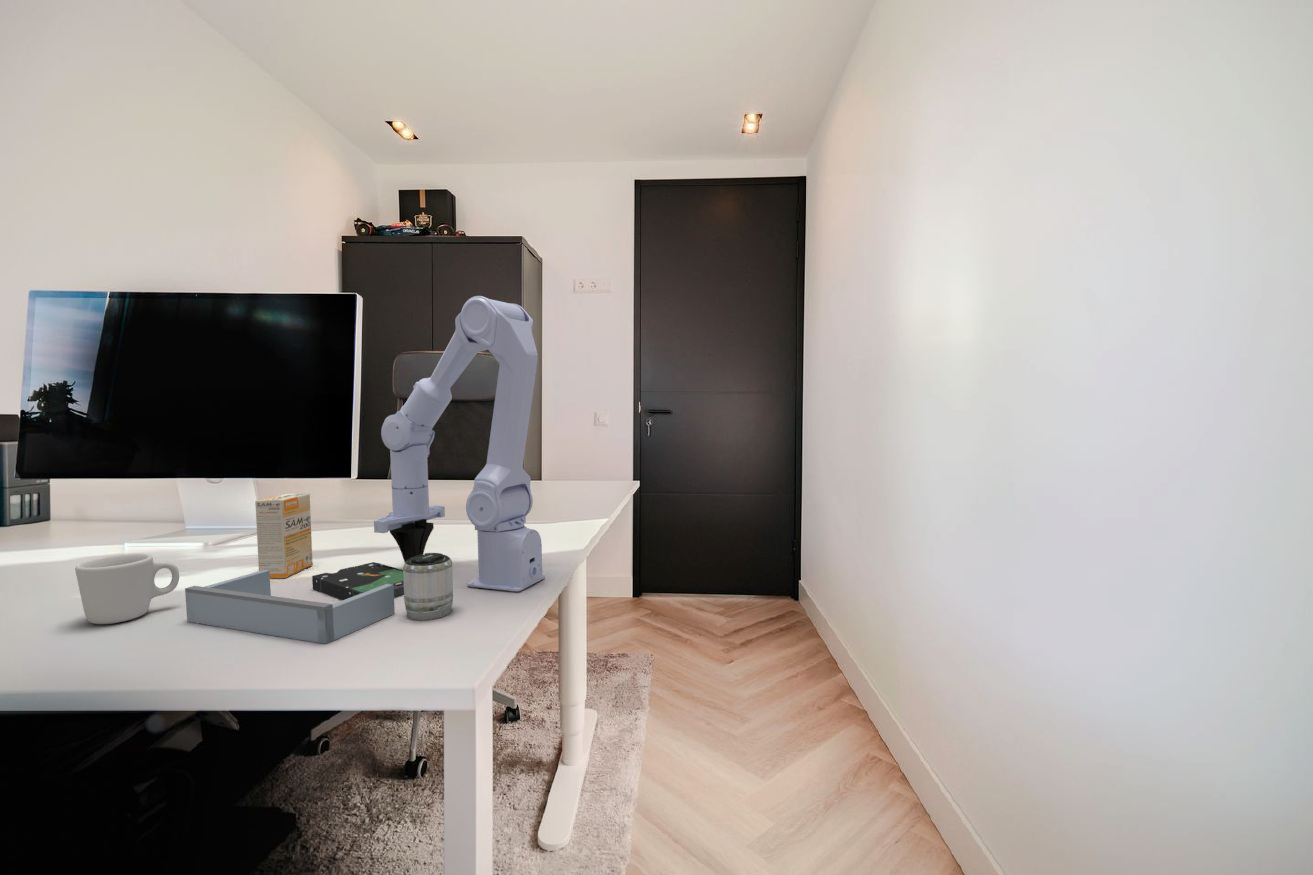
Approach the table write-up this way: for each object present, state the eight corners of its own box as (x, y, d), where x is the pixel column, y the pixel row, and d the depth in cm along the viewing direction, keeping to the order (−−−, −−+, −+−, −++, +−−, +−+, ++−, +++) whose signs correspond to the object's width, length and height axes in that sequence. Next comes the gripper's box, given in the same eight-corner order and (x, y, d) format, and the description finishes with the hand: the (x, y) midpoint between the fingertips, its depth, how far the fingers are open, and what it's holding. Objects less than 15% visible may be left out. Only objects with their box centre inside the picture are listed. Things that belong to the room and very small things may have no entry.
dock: (394, 613, 86) (393, 581, 86) (325, 643, 76) (324, 607, 75) (265, 596, 95) (263, 566, 94) (187, 621, 84) (185, 588, 84)
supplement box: (287, 578, 104) (282, 499, 103) (257, 579, 104) (253, 500, 103) (314, 565, 112) (311, 492, 111) (287, 565, 112) (283, 492, 111)
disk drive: (310, 593, 98) (361, 610, 89) (309, 575, 98) (360, 591, 89) (374, 577, 106) (426, 591, 97) (373, 561, 106) (425, 573, 97)
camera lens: (394, 618, 84) (392, 560, 84) (426, 603, 90) (424, 549, 90) (433, 623, 82) (430, 563, 82) (463, 608, 88) (461, 552, 88)
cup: (176, 600, 93) (173, 546, 93) (185, 612, 88) (182, 556, 87) (77, 618, 86) (73, 560, 85) (81, 634, 80) (76, 571, 80)
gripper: (421, 480, 114) (423, 554, 115) (357, 492, 100) (361, 576, 101) (453, 481, 112) (456, 557, 112) (392, 493, 98) (396, 580, 99)
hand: (413, 566), depth 107 cm, fingers closed
